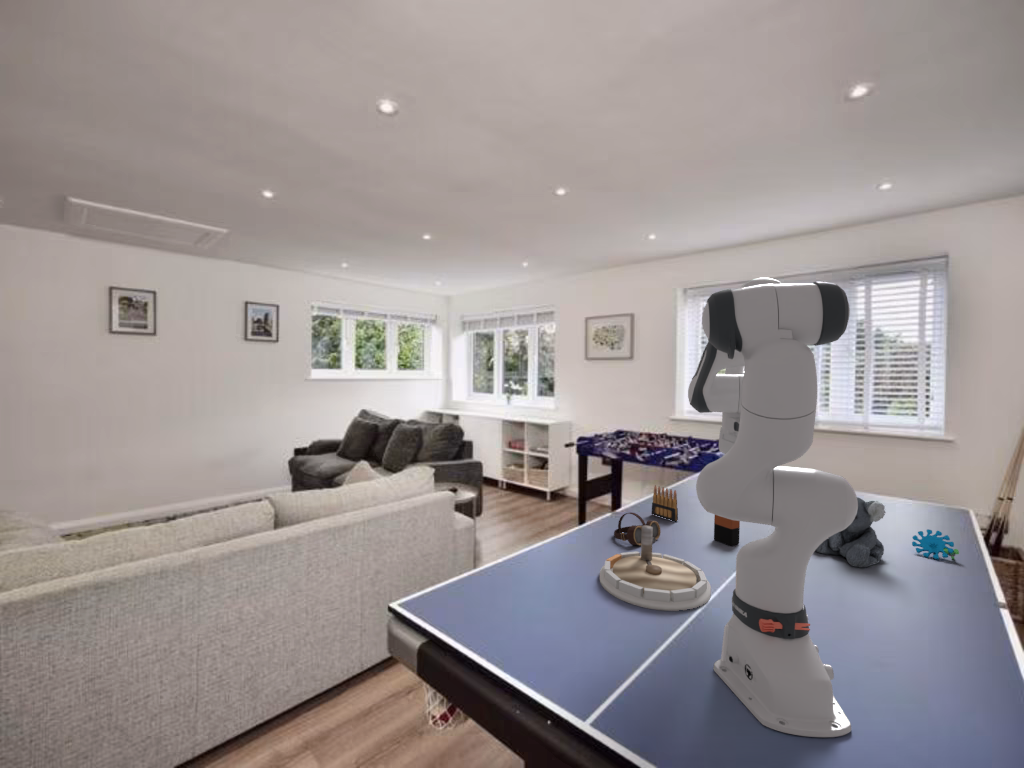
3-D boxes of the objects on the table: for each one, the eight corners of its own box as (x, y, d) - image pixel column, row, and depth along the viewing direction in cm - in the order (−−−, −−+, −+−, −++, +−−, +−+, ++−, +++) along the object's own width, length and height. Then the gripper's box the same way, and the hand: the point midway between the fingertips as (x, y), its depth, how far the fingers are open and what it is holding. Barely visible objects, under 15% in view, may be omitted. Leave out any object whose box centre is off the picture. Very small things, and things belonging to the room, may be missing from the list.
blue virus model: (905, 547, 150) (919, 523, 152) (908, 557, 152) (922, 533, 155) (949, 564, 140) (964, 538, 142) (952, 574, 143) (967, 549, 145)
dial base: (729, 613, 109) (729, 597, 109) (607, 608, 111) (607, 592, 111) (690, 564, 137) (690, 551, 137) (593, 560, 139) (594, 548, 139)
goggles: (638, 549, 148) (632, 516, 149) (605, 546, 158) (601, 516, 159) (665, 539, 158) (660, 508, 159) (633, 537, 167) (628, 508, 169)
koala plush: (804, 549, 151) (806, 489, 150) (843, 543, 157) (845, 485, 157) (861, 571, 135) (863, 503, 134) (901, 563, 141) (904, 498, 141)
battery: (731, 546, 152) (732, 516, 152) (713, 540, 158) (713, 510, 158) (739, 544, 154) (740, 514, 154) (721, 538, 160) (722, 508, 160)
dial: (708, 598, 113) (709, 554, 112) (620, 594, 114) (621, 551, 114) (682, 562, 134) (683, 526, 133) (607, 559, 135) (608, 523, 135)
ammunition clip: (651, 515, 184) (651, 485, 184) (654, 514, 186) (654, 484, 185) (675, 522, 176) (675, 490, 176) (678, 521, 177) (678, 490, 177)
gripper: (713, 418, 134) (712, 467, 134) (744, 427, 114) (743, 483, 114) (736, 419, 134) (734, 467, 134) (771, 427, 113) (770, 484, 114)
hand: (738, 475), depth 124 cm, fingers closed
